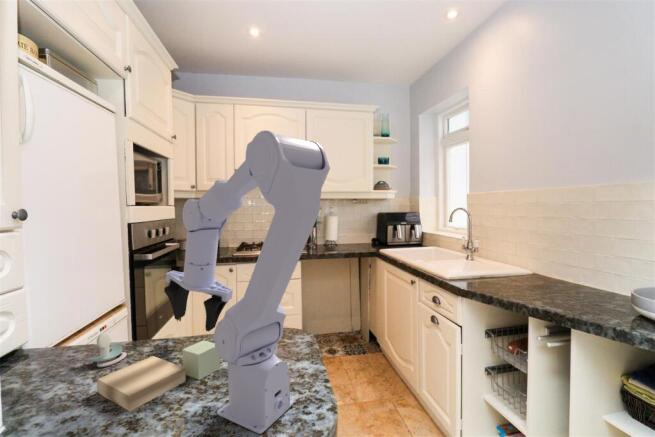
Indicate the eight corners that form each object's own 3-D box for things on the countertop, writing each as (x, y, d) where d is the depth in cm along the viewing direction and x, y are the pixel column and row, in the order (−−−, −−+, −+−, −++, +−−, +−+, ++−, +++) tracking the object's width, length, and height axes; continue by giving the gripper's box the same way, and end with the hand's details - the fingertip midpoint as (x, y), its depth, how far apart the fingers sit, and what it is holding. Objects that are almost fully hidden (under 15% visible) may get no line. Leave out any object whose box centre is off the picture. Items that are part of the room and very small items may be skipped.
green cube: (220, 368, 62) (219, 344, 62) (199, 380, 58) (198, 354, 58) (204, 363, 65) (203, 340, 65) (183, 374, 61) (182, 349, 61)
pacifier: (133, 354, 70) (110, 353, 71) (133, 328, 70) (110, 327, 71) (106, 371, 63) (81, 369, 64) (106, 341, 63) (81, 339, 64)
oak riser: (185, 383, 58) (185, 368, 58) (129, 414, 49) (129, 396, 49) (153, 369, 63) (152, 355, 63) (98, 395, 55) (97, 379, 55)
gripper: (244, 264, 61) (236, 324, 63) (185, 247, 65) (180, 304, 67) (222, 274, 54) (215, 341, 57) (158, 255, 58) (154, 318, 61)
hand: (194, 322), depth 61 cm, fingers open, 7 cm apart
